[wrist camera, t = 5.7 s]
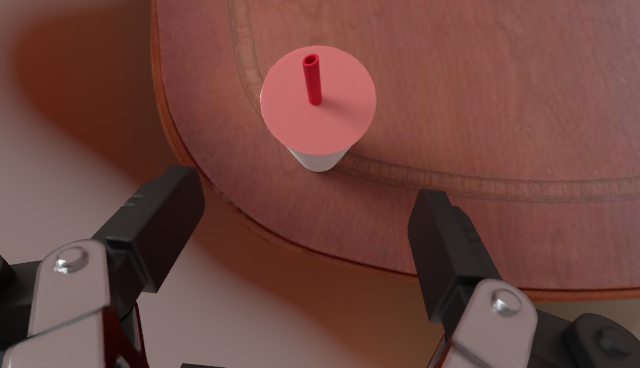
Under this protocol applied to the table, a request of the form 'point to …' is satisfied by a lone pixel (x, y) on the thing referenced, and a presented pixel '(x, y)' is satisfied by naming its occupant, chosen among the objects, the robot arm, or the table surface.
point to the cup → (318, 104)
